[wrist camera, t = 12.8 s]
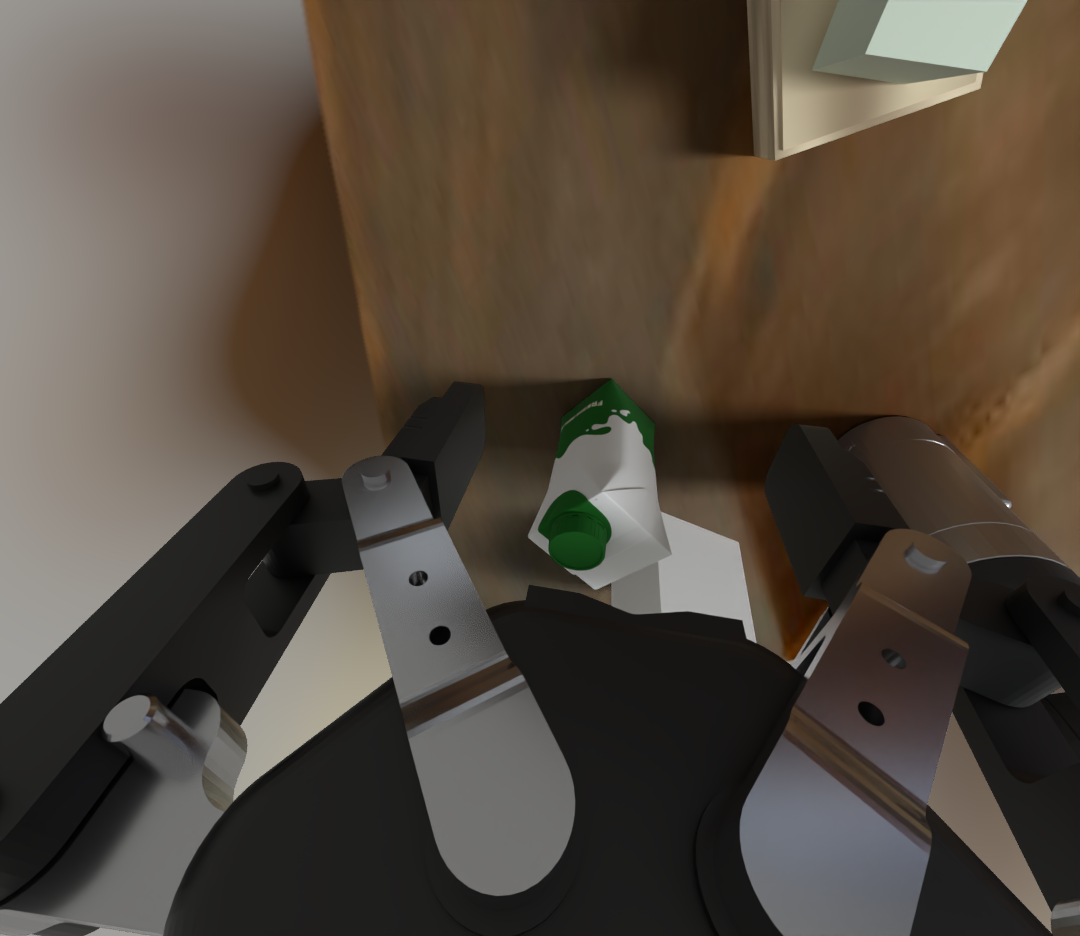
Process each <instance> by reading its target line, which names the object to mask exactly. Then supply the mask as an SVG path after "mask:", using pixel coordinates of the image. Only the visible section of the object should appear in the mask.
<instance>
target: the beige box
mask: <svg viewBox="0 0 1080 936" xmlns="http://www.w3.org/2000/svg"><path fill="white" fill-rule="evenodd" d="M837 3H838V0H747V15H748V36H749V58H750V79H751V100H752V122H753V143H754V156H755V157H760V158H765V159H770V160H774V161H775V160H778V159H781V158H784V157H787V156H790V155H792V154H795V153H798V152H801V151H804V150H807V149H810V148H812V147H815V146H818V145H821V144H824V143H827V142H829V141H832V140H835V139H838V138H841V137H844V136H847V135H849V134H852V133H855V132H858V131H861V130H864V129H866V128H869V127H872V126H875V125H878V124H881V123H884V122H886V121H889V120H892V119H895V118H898V117H901V116H903V115H906V114H909V113H912V112H915V111H918V110H920V109H923V108H926V107H929V106H932V105H935V104H938V103H940V102H943V101H946V100H949V99H952V98H955V97H957V96H960V95H963V94H966V93H969V92H972V91H975V90H977V89H980V88H981V82H982V77H983V72H981V73H975V74H968V75H962V76H955V77H949V78H942V79H936V80H929V81H923V82H916V83H910V84H899V83H893V82H886V81H879V80H872V79H866V78H859V77H852V76H845V75H838V74H832V73H825V72H818V71H812V68H813V66H814V63H815V60H816V58H817V55H818V53H819V50H820V47H821V45H822V42H823V39H824V37H825V34H826V32H827V29H828V26H829V24H830V21H831V19H832V16H833V13H834V11H835V8H836V6H837Z"/></svg>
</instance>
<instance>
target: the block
mask: <svg viewBox="0 0 1080 936" xmlns="http://www.w3.org/2000/svg"><path fill="white" fill-rule="evenodd" d="M1026 2H1027V0H838V3H837V6H836V8H835V11H834V13H833V16H832V19H831V21H830V24H829V26H828V29H827V32H826V34H825V37H824V39H823V42H822V45H821V47H820V50H819V53H818V55H817V58H816V60H815V63H814V66H813V68H812V71H818V72H825V73H832V74H838V75H845V76H852V77H859V78H866V79H872V80H879V81H886V82H893V83H899V84H910V83H916V82H923V81H929V80H936V79H942V78H949V77H955V76H962V75H968V74H975V73H981V72H987V70H988V68H989V67H990V65H991V63H992V61H993V60H994V58H995V56H996V54H997V53H998V51H999V49H1000V47H1001V46H1002V44H1003V42H1004V40H1005V39H1006V37H1007V35H1008V33H1009V32H1010V30H1011V28H1012V26H1013V25H1014V23H1015V21H1016V19H1017V18H1018V16H1019V14H1020V12H1021V11H1022V9H1023V7H1024V5H1025V4H1026Z"/></svg>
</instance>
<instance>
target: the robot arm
mask: <svg viewBox="0 0 1080 936" xmlns="http://www.w3.org/2000/svg"><path fill="white" fill-rule="evenodd" d="M484 444H485V408H484V389H483V386H482V385H480V384H472V383H463V382H453V384H452V385H451V386H450V388H449V389H448V391H447V392H446V394H445V395H444V396H443V398H438V397H433V398H431V399H430V400H428V401H426V402H424V403H423V404H421V405H419V407H418V408H417V409H416V411H415V412H414V413H413V414H412V416H411V419H410V418H409V420H408V421H407V422H406V424H405V425H404V428H402V429H401V430H400V432H399V433H398V434H397V435H396V437H395V438H394V439H393V441H392V442H391V443H390V445H389V446H388V447H387V449H386V450H385V451H384V453H383V454H382V455H381V456H374V457H369V458H365V459H363V460H360V461H358V462H356V463H355V464H353V465H352V466H350V467H349V468H348V469H347V470H346V471H345V472H344V474H343V476H342V478H338V479H327V480H313V481H304V478H303V475H302V472H301V471H300V469H299V468H298V467H297V466H295V465H293V464H290V463H285V462H271V463H265V464H260V465H257V466H254V467H252V468H249V469H247V470H245V471H243V472H241V473H240V474H238V475H237V476H236V477H235V478H233V479H232V480H231V481H230V482H229V483H228V484H227V485H226V486H225V487H224V488H223V489H222V490H221V491H220V492H219V493H218V494H217V495H216V496H214V497H213V498H212V499H211V501H209V502H208V503H207V504H206V505H205V506H204V507H203V508H202V509H201V510H200V511H199V512H198V513H197V514H196V515H195V516H194V517H193V518H192V519H191V520H190V521H189V522H188V523H187V524H186V525H185V526H184V527H182V528H181V529H180V530H179V531H178V532H177V533H176V535H174V536H173V537H172V538H171V539H170V540H169V541H168V542H167V543H166V544H165V545H164V546H163V547H162V548H161V549H160V550H159V551H158V552H157V553H156V554H155V555H154V556H153V557H152V558H150V559H149V561H147V562H146V564H144V565H143V566H142V567H141V568H140V569H139V570H138V571H137V572H136V573H135V574H134V575H133V576H132V577H131V578H130V579H129V580H128V581H127V582H126V583H125V584H124V585H123V586H122V587H121V588H120V589H119V590H117V591H116V592H115V593H114V594H113V595H112V596H111V597H110V598H109V599H108V600H107V601H106V602H105V603H104V604H103V605H102V606H101V607H100V608H99V609H98V610H97V611H96V612H95V613H94V614H93V615H92V616H91V617H90V618H89V619H88V620H87V621H85V623H83V624H82V625H81V626H80V627H79V628H78V629H77V630H76V631H75V632H74V633H73V634H72V635H71V636H70V637H69V638H68V639H67V640H66V641H65V642H64V643H63V644H62V645H61V646H60V647H59V648H58V649H57V650H56V651H55V652H54V653H52V654H51V655H50V656H49V657H48V658H47V659H46V660H45V661H44V662H43V663H42V664H41V665H40V666H39V667H38V668H37V669H36V670H35V671H34V672H33V673H32V674H31V675H30V676H29V677H28V678H27V679H26V680H25V681H24V682H23V683H22V684H21V685H19V686H18V688H17V689H15V690H14V691H13V692H12V693H11V694H10V695H9V696H8V697H7V698H6V699H5V700H4V701H3V702H2V703H1V704H0V934H4V935H10V936H25V935H29V934H34V935H41V936H84V935H86V934H89V933H91V932H93V931H95V930H97V929H99V928H100V927H101V928H107V929H113V930H119V931H125V932H132V933H138V934H144V935H151V936H1080V578H1079V577H1078V576H1077V575H1076V574H1075V573H1074V572H1073V571H1072V570H1071V569H1070V568H1069V567H1068V566H1067V565H1066V564H1065V563H1064V562H1063V561H1062V560H1061V559H1060V558H1059V557H1058V556H1057V555H1056V554H1055V553H1054V552H1053V551H1052V550H1051V549H1050V548H1049V547H1048V546H1047V545H1046V544H1045V543H1044V542H1043V541H1042V540H1041V539H1040V538H1039V537H1038V536H1037V535H1036V534H1035V533H1034V532H1033V531H1032V530H1031V529H1030V528H1029V527H1028V526H1027V525H1026V524H1025V523H1024V522H1023V521H1022V520H1021V519H1020V518H1019V517H1018V516H1017V515H1016V514H1015V513H1014V512H1013V511H1012V510H1011V509H1010V507H1011V505H1012V503H1011V500H1010V499H1009V498H1008V497H1007V496H1006V495H1005V494H1004V493H1003V492H1002V491H1001V490H1000V489H999V488H998V487H997V486H996V485H995V484H994V483H993V482H992V481H991V480H990V479H988V478H987V477H986V476H985V475H984V474H983V473H982V472H981V471H980V470H979V469H978V468H977V467H976V466H975V465H974V464H973V463H972V462H971V461H970V460H969V459H968V458H967V457H966V456H965V455H964V454H963V453H962V452H961V451H960V450H959V449H958V448H957V447H956V446H955V445H954V444H953V443H952V442H951V441H949V440H948V439H947V438H946V437H945V436H940V435H936V434H935V433H934V432H933V431H932V430H931V429H930V428H929V427H928V426H927V425H925V424H924V423H922V422H921V421H918V420H916V419H913V418H908V417H900V416H897V417H884V418H879V419H874V420H871V421H869V422H866V423H863V424H861V425H859V426H857V427H855V428H853V429H851V430H850V431H848V432H847V433H846V434H844V435H843V436H842V437H841V438H840V439H839V440H838V441H837V439H836V438H835V436H834V435H833V433H832V432H831V430H830V429H829V428H826V427H818V426H810V425H801V424H794V425H792V426H791V427H790V428H789V429H788V431H787V433H786V435H785V437H784V439H783V441H782V443H781V445H780V447H779V449H778V451H777V454H776V456H775V458H774V460H773V462H772V464H771V466H770V468H769V470H768V473H767V476H766V480H765V494H766V497H767V500H768V502H769V505H770V508H771V511H772V513H773V516H774V519H775V521H776V524H777V527H778V529H779V532H780V535H781V538H782V540H783V543H784V546H785V548H786V551H787V554H788V556H789V559H790V562H791V564H792V567H793V570H794V573H795V575H796V578H797V581H798V583H799V586H800V589H801V591H802V594H803V596H805V597H812V598H818V599H824V600H827V602H828V604H829V607H828V608H827V609H826V610H825V612H824V613H823V614H822V616H821V617H820V619H819V621H818V622H817V624H816V625H815V627H814V629H813V630H812V632H811V634H810V635H809V637H808V638H807V640H806V642H805V643H804V645H803V647H802V648H801V650H800V652H799V653H798V655H797V656H796V658H795V660H794V661H793V663H792V665H790V664H789V663H787V662H786V661H785V660H783V659H782V658H781V657H779V656H778V655H776V654H775V653H773V652H771V651H770V650H768V649H766V648H765V647H763V646H761V645H759V644H757V643H755V642H753V641H751V640H748V639H747V638H746V634H745V630H744V625H743V621H742V620H738V619H732V618H726V617H720V616H714V615H708V614H702V613H696V612H690V611H684V612H668V613H652V614H631V613H628V612H625V611H623V610H620V609H618V608H615V607H613V606H610V605H608V604H605V603H603V602H600V601H598V600H595V599H593V598H590V597H588V596H585V595H583V594H580V593H575V592H569V591H563V590H557V589H551V588H545V587H539V586H533V585H529V588H528V592H527V597H526V600H522V601H513V602H508V603H503V604H500V605H497V606H494V607H491V608H489V609H486V610H485V608H484V606H483V604H482V602H481V600H480V598H479V596H478V594H477V592H476V590H475V588H474V586H473V583H472V581H471V579H470V577H469V575H468V573H467V571H466V569H465V567H464V565H463V563H462V561H461V559H460V557H459V555H458V553H457V551H456V549H455V546H454V544H453V542H452V540H451V538H450V536H449V534H448V532H447V531H448V528H449V526H450V524H451V522H452V520H453V517H454V515H455V513H456V511H457V508H458V506H459V504H460V502H461V500H462V497H463V495H464V493H465V491H466V489H467V486H468V484H469V482H470V480H471V478H472V475H473V473H474V471H475V469H476V467H477V464H478V462H479V460H480V458H481V456H482V453H483V449H484ZM262 560H263V561H262ZM261 561H262V562H261ZM260 562H261V563H260ZM259 563H260V565H259ZM258 565H259V566H258ZM257 566H258V567H257ZM256 567H257V569H256ZM255 569H256V570H255ZM363 569H364V572H365V576H366V579H367V583H368V586H369V590H370V594H371V598H372V602H373V605H374V609H375V613H376V617H377V620H378V624H379V628H380V632H381V635H382V639H383V643H384V647H385V650H386V654H387V658H388V662H389V665H390V669H391V673H392V678H390V679H389V680H388V681H387V682H385V683H384V684H382V685H381V686H380V687H378V688H377V689H376V690H374V691H373V692H372V693H370V694H369V695H368V696H367V697H365V698H364V699H363V700H361V701H360V702H359V703H357V704H356V705H355V706H353V707H352V708H351V709H349V710H348V711H347V712H345V713H344V714H343V715H342V716H340V717H339V718H338V719H336V720H335V721H334V722H332V723H331V724H330V725H328V726H327V727H326V728H324V729H323V730H322V731H320V732H319V733H318V734H316V735H315V736H314V737H313V738H311V739H310V740H308V741H307V742H306V743H305V744H303V745H302V746H301V747H299V748H298V749H297V750H295V751H294V752H293V753H292V754H290V755H289V756H287V757H286V758H285V759H284V760H282V761H281V762H279V763H278V764H277V765H276V766H274V767H273V768H272V769H270V770H269V771H268V772H266V773H265V774H264V775H262V776H261V777H260V778H259V779H257V780H256V781H255V782H254V783H253V784H251V785H250V786H249V787H248V788H247V789H246V790H245V791H244V792H243V793H242V794H241V795H239V796H238V798H237V799H236V800H235V801H234V802H233V795H234V788H235V785H236V781H237V778H238V776H239V774H240V771H241V769H242V766H243V764H244V761H245V757H246V754H247V739H246V735H245V733H244V731H243V729H242V728H241V727H240V725H241V724H242V722H243V720H244V718H245V717H246V715H247V713H248V712H249V710H250V708H251V707H252V705H253V703H254V702H255V700H256V698H257V697H258V695H259V693H260V692H261V689H262V688H263V687H264V685H265V683H266V681H267V680H268V678H269V676H270V675H271V673H272V671H273V670H274V668H275V666H276V664H277V663H278V661H279V660H280V658H281V656H282V655H283V653H284V651H285V649H286V648H287V646H288V644H289V643H290V641H291V639H292V638H293V636H294V634H295V633H296V631H297V629H298V628H299V626H300V624H301V623H302V621H303V619H304V617H305V616H306V614H307V612H308V611H309V609H310V607H311V606H312V604H313V602H314V601H315V599H316V597H317V596H318V594H319V592H320V591H321V589H322V587H323V585H324V584H325V582H326V580H327V579H328V577H329V575H330V574H331V573H336V572H345V571H353V570H363ZM254 570H255V571H254ZM253 571H254V573H253ZM252 573H253V574H252ZM251 574H252V575H251ZM250 575H251V576H250ZM249 577H250V578H249ZM248 578H249V579H248ZM1061 687H1062V688H1063V689H1064V690H1065V693H1057V694H1051V693H1052V692H1054V691H1055V690H1057V689H1059V688H1061ZM952 712H953V714H954V716H955V718H956V720H957V722H958V724H959V726H960V728H961V730H962V732H963V734H964V736H965V738H966V740H967V742H968V744H969V746H970V748H971V750H972V752H973V754H974V756H975V758H976V760H977V762H978V765H979V767H980V768H981V771H982V772H983V775H984V777H985V779H986V781H987V783H988V785H989V787H990V789H991V791H992V793H993V795H994V797H995V799H996V801H997V803H998V804H999V807H1000V809H1001V811H1002V813H1003V815H1004V817H1005V819H1006V821H1007V823H1008V825H1009V827H1010V829H1011V831H1012V833H1013V835H1014V837H1015V839H1016V841H1017V843H1018V845H1019V847H1020V849H1021V851H1022V853H1023V855H1024V857H1025V859H1026V861H1027V863H1028V865H1029V867H1030V869H1031V871H1032V873H1033V875H1034V877H1035V879H1036V881H1037V884H1038V886H1039V888H1040V890H1041V892H1042V893H1043V896H1044V897H1045V900H1046V902H1047V904H1048V906H1049V908H1050V910H1051V912H1052V915H1051V930H1052V933H1050V931H1049V930H1048V929H1047V928H1045V926H1044V925H1043V924H1042V923H1041V922H1040V921H1039V920H1038V919H1037V918H1036V917H1035V916H1034V915H1033V914H1032V913H1031V912H1030V911H1029V910H1028V909H1027V907H1026V906H1025V905H1024V904H1023V903H1022V902H1020V900H1019V899H1018V898H1017V897H1016V896H1015V895H1014V894H1013V893H1012V892H1011V891H1010V890H1009V889H1008V888H1007V887H1006V886H1005V885H1004V884H1003V883H1002V882H1001V880H1000V879H999V878H997V876H996V875H995V874H994V873H993V872H992V871H991V870H990V869H989V868H988V867H987V866H986V865H985V864H984V863H983V862H982V861H981V860H980V859H979V858H978V857H977V856H976V854H975V853H974V852H973V851H971V849H970V848H969V847H968V846H967V845H966V844H965V843H964V842H963V841H962V840H961V839H960V838H959V837H958V836H957V835H956V834H955V833H954V832H953V831H952V830H951V828H950V827H949V826H947V824H946V823H945V822H944V821H943V820H942V819H941V818H940V817H939V816H938V815H937V814H936V813H935V812H934V811H933V810H932V809H931V808H930V807H929V806H928V805H927V803H928V799H929V795H930V792H931V788H932V784H933V781H934V777H935V773H936V769H937V766H938V762H939V758H940V754H941V751H942V747H943V744H944V739H945V736H946V732H947V729H948V725H949V721H950V717H951V714H952ZM1052 934H1053V935H1052Z"/></svg>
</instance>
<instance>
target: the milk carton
mask: <svg viewBox="0 0 1080 936" xmlns="http://www.w3.org/2000/svg"><path fill="white" fill-rule="evenodd" d="M654 435H655V424H654V423H653V422H652V421H651V420H650V419H649V417H648V416H647V415H646V414H645V413H644V412H643V411H642V410H641V409H640V408H639V407H638V406H637V405H636V404H635V403H634V402H633V401H632V400H631V398H630V397H629V396H628V395H627V394H626V393H625V392H624V391H623V390H622V389H621V388H620V387H619V386H618V385H617V384H616V383H615V382H614V380H613V379H612V378H611V379H610V380H609V381H607V382H606V383H605V384H603V385H602V386H601V387H600V388H598V389H597V390H596V391H595V392H593V393H592V394H591V395H589V396H588V397H587V398H586V399H584V400H583V401H582V402H580V403H579V404H578V405H577V406H575V407H574V408H573V409H571V410H570V411H569V412H568V413H566V414H565V415H564V416H563V417H562V420H561V429H560V439H559V444H558V448H557V453H556V457H555V462H554V466H553V470H552V475H551V479H550V484H549V488H548V491H547V494H546V496H545V499H544V501H543V503H542V505H541V508H540V510H539V512H538V514H537V516H536V519H535V521H534V523H533V525H532V527H531V530H530V532H529V534H528V538H529V539H530V540H532V541H533V542H534V543H535V544H536V545H538V546H539V547H540V548H541V549H543V550H544V551H545V552H546V553H548V554H549V555H550V556H551V558H552V559H553V560H554V561H555V562H556V563H557V564H559V565H560V566H562V567H564V568H565V569H566V570H567V571H569V572H570V573H571V574H573V575H575V574H576V575H577V576H578V577H579V578H581V579H582V580H583V581H584V582H586V583H587V584H588V585H589V586H591V587H592V588H593V589H595V590H596V589H599V588H601V587H603V586H605V585H607V584H610V583H612V582H614V581H616V580H618V579H620V578H623V577H625V576H627V575H629V574H631V573H633V572H636V571H638V570H640V569H642V568H644V567H646V566H649V565H651V564H653V563H655V562H657V561H659V560H662V559H664V558H666V557H668V556H670V555H672V552H671V549H670V545H669V541H668V538H667V534H666V530H665V527H664V523H663V519H662V515H661V511H660V507H659V503H658V497H657V485H656V472H655V459H654Z"/></svg>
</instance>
